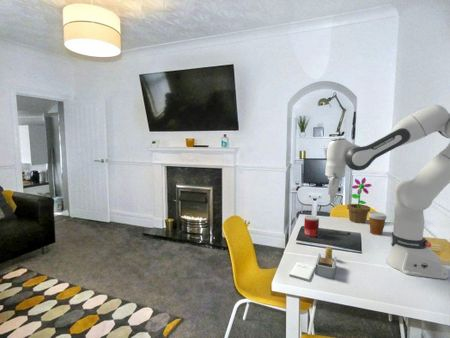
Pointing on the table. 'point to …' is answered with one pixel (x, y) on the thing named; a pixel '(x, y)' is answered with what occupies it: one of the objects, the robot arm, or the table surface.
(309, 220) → the canned food
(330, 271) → the lane
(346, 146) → the robot arm
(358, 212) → the flowerpot
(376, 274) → the table surface
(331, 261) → the towed block
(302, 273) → the external hard drive
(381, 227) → the disposable coffee cup
